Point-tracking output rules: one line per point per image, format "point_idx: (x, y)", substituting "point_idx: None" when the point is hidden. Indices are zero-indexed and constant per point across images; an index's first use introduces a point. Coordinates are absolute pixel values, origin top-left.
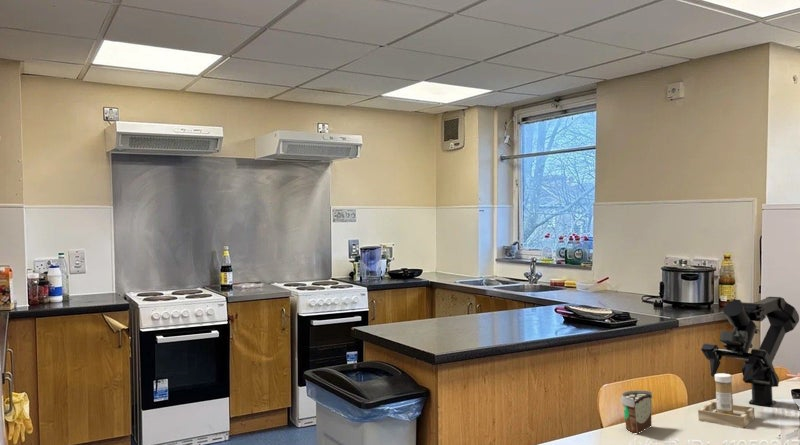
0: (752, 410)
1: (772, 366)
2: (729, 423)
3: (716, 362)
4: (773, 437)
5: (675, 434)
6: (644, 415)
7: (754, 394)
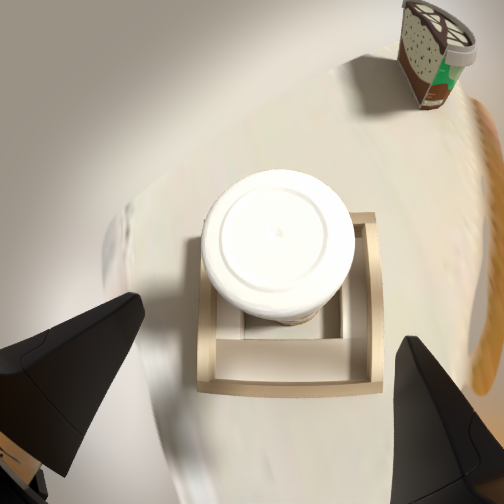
0: (199, 363)
1: None
2: None
3: (422, 500)
4: (138, 202)
5: (346, 86)
6: (417, 59)
7: None
